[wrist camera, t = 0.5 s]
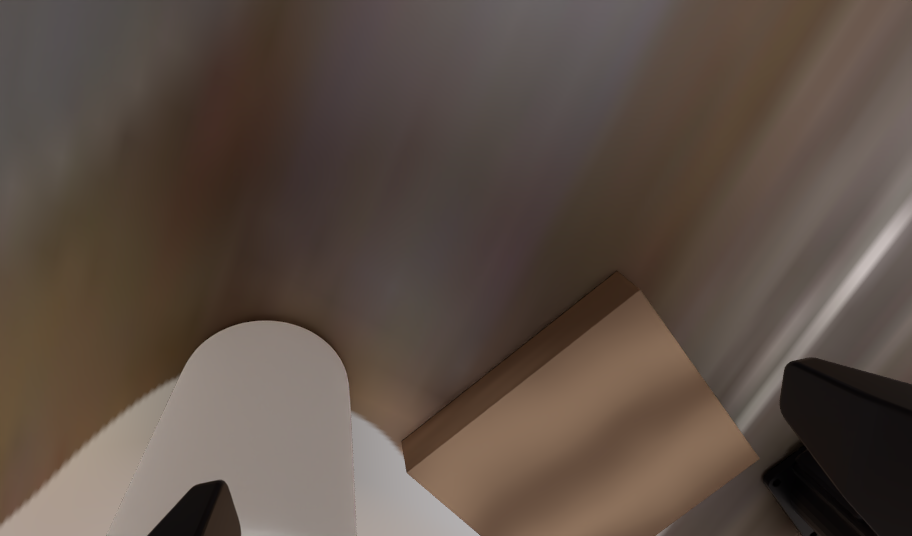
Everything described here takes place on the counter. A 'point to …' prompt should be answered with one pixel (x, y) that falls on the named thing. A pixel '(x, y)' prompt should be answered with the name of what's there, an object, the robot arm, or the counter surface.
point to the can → (254, 436)
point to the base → (582, 430)
